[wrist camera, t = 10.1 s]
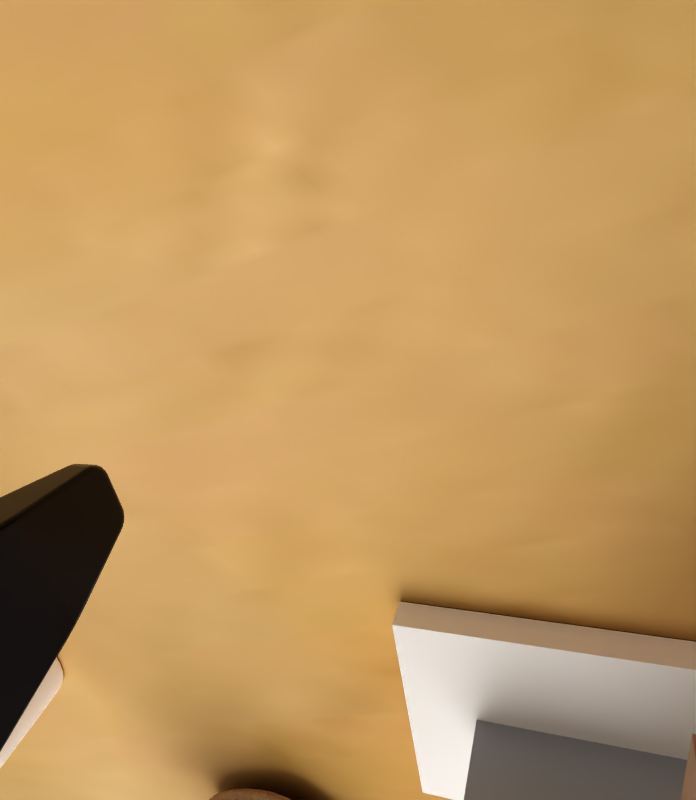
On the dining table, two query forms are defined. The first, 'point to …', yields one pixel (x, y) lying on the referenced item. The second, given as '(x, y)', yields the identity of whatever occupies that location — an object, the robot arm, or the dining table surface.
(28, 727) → the bottle
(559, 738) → the ridge
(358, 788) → the dining table surface
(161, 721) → the dining table surface
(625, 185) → the dining table surface
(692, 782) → the walnut bar
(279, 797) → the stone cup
